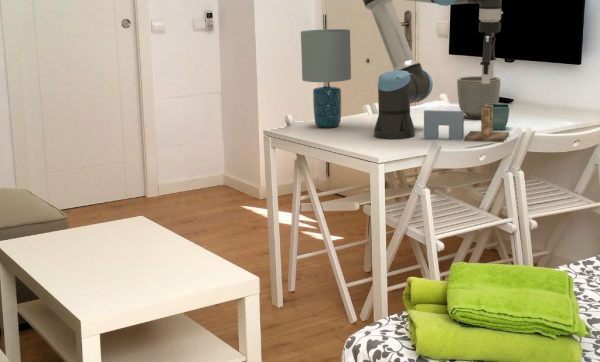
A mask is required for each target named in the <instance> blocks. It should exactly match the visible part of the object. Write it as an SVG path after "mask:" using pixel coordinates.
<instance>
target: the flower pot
mask: <svg viewBox="0 0 600 362" xmlns="http://www.w3.org/2000/svg"><path fill="white" fill-rule="evenodd" d="M486 105H493V131H494V130H496V131H497V130H500V131H501V130H505V129H506V127H507V125H508V122H509V116H510V108H511V107H510V104H509V103H498V104H486Z"/></svg>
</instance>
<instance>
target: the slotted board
mask: <svg viewBox="0 0 600 362" xmlns="http://www.w3.org/2000/svg"><path fill="white" fill-rule="evenodd" d="M464 119H465V113H464V111H461V110H435V109H433V110H428V109H427V110H424V111H423V139H424V138H425V139H428V140H429V139H430V140H438V139H439V138H440V137H439V136H440V134H439V132H440V131H439V129H440V128H439V126H444V127H445V126H446V127H448V140H454V139H459V140H461V141H462V140H464V137H465V135H464V133H465V132H464V131H465V130H464V129H465V128H464V127H465V121H464ZM459 140H458V141H459Z"/></svg>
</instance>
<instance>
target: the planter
mask: <svg viewBox="0 0 600 362" xmlns="http://www.w3.org/2000/svg"><path fill="white" fill-rule="evenodd" d="M456 84H457V85H456V86H457V87H456V88H457V98H458V99H457V100H458V106H459V110H460V111H464V115H466V117H467V118H468V119H471V120H472V119H473V120H481V110H482V109H483V108H485V106H486V104H499V101H500V91H501V78H500V77H497V76H493V79H490V84H482V75H472V76H471V75H469V76H461V77H458V78H457V81H456Z"/></svg>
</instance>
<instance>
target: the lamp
mask: <svg viewBox="0 0 600 362" xmlns="http://www.w3.org/2000/svg"><path fill="white" fill-rule="evenodd" d="M300 47H301V49H300V51H301V53H300V54H301V77H302V78H301V79H302V81H303V82H307V83H323V86H319V87H315V88H313V89H312V99H313V100H312V101H313V106H312V107H313V117H314V122H315V125H316V126H317V127H318V128H321V129H322V128H323V129H326V128H327V129H330V128H336V127H338V126H339V125H341V118H342V89H341V88H340V87H337V86H331V83H335V82H338V83H339V82H345V81H346V82H347V81H349V80H351V79H352V58H351V57H352V55H351V30H350V29H346V28H345V29H344V28H343V29H341V28H330V29H329V28H325V29H321V28H320V29H309V30H308V29H307V30H301V31H300Z"/></svg>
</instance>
